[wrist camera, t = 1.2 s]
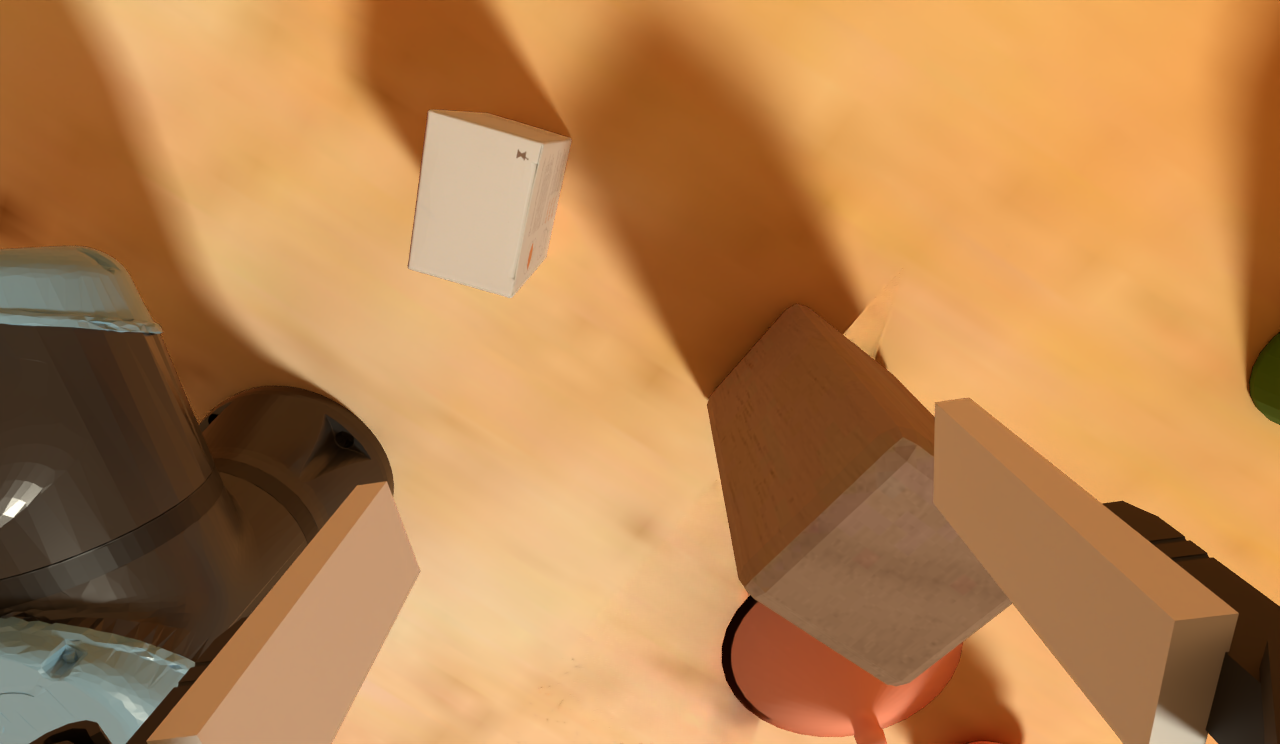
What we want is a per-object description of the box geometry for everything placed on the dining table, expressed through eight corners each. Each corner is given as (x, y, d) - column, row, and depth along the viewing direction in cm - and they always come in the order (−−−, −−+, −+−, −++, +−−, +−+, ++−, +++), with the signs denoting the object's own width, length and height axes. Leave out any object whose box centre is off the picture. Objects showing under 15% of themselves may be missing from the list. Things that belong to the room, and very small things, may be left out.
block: (801, 472, 46) (900, 703, 27) (700, 399, 44) (731, 595, 25) (897, 377, 43) (1083, 564, 24) (793, 294, 41) (907, 428, 22)
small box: (487, 111, 37) (425, 103, 27) (574, 138, 37) (545, 139, 28) (465, 237, 40) (402, 270, 30) (547, 260, 40) (511, 300, 30)
